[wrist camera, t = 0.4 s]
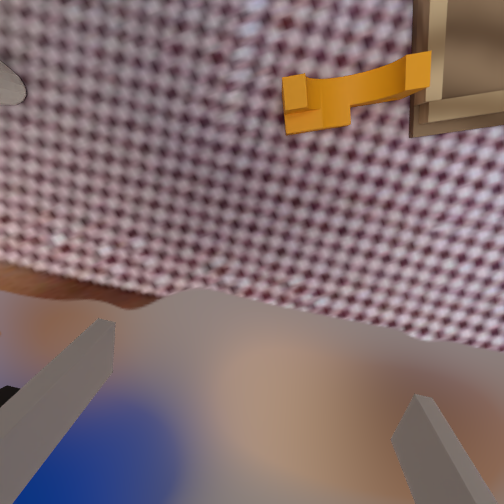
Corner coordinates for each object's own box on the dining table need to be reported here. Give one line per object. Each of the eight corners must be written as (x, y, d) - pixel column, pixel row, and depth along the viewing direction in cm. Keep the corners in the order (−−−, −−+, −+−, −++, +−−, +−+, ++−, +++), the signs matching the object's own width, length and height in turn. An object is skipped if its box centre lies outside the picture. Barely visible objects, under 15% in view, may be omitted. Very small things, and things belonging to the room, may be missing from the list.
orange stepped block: (285, 135, 32) (287, 131, 26) (281, 92, 31) (282, 77, 25) (399, 117, 31) (428, 109, 25) (400, 71, 29) (431, 50, 23)
